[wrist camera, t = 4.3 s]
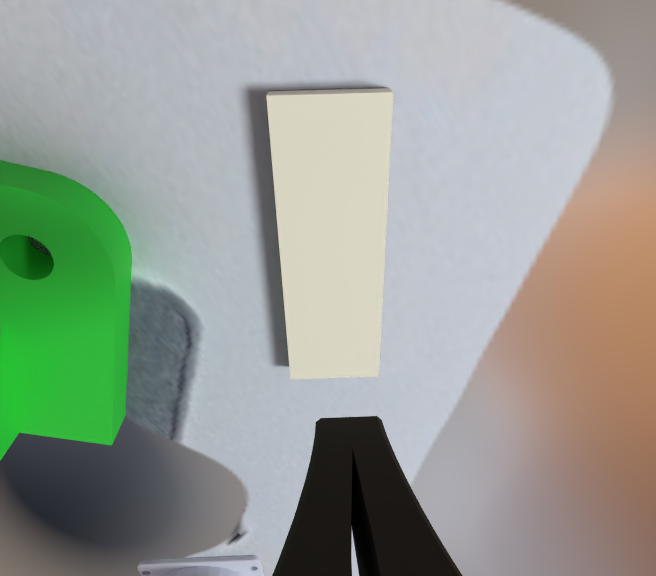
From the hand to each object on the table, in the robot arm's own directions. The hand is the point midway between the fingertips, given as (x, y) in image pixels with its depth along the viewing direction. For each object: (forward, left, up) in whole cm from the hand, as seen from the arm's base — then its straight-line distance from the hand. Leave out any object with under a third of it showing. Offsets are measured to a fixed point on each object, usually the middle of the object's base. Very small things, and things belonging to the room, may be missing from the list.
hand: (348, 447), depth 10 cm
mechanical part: (-2, +12, -10) cm, 16 cm away
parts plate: (0, 0, -10) cm, 10 cm away
